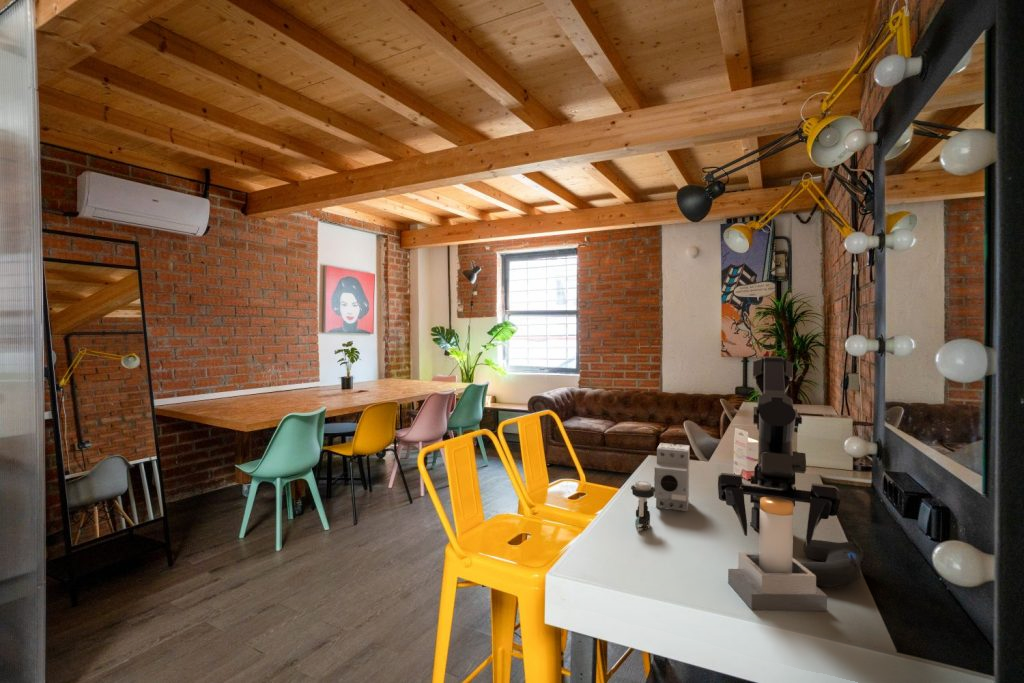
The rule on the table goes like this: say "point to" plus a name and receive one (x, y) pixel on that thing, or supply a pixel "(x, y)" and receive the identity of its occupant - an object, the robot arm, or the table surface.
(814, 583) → the grey stepped open box
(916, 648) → the table surface
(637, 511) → the push button
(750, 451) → the ink cartridge box
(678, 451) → the circuit breaker
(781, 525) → the orange lidded white canister
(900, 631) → the table surface
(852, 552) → the gaming controller
